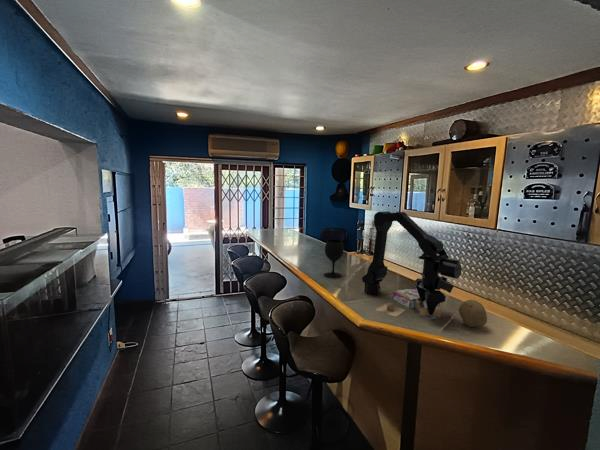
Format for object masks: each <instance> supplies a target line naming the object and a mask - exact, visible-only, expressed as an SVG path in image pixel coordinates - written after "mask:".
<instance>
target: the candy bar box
mask: <svg viewBox="0 0 600 450" xmlns="http://www.w3.org/2000/svg"><path fill="white" fill-rule="evenodd" d="M392 297H393V298H392V299H393V300H394V301H396V302H397V303H399V304H400V305H403V306H404V307H406V308H408V309H409V310H410V309H414V308H415V301H421V300H420V297H419V294H418V291H417V289H416V287H415V288H409V289H399V290H398V289H397V290H393V296H392ZM440 304H441V303H439V304H438V305H437V306H440Z"/></svg>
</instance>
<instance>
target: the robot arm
mask: <svg viewBox="0 0 600 450" xmlns="http://www.w3.org/2000/svg"><path fill="white" fill-rule="evenodd" d="M393 222H396V223H399V225H401V226H402V228H403V229H404V230H405V231H406V232H407V233H408V234H410V236H411V237H412V238H413V239H414V240H415V241H416V242H417V244H418V247H419V248H420V250H421V252H422V254H421V255H419V256H418V260H422V261H423V266H422V271H421V272H420V275H421V278H419V277H417V278H416V279H415V281H414V285H415V288H416V289H417V291H418V294H419V297H420V300H421V301H426V304H427V308H428V312H429V315H433V313H434V311H435V309H436V307H437V306H439V305H438V304H439V303H440V304H441V303H444V302H446V296H445V294H444V293H443V292H442V291H441V290H443V291H446V292H447V293H449V294H451V293H452V291H453V288H454V287H455V286H454V284H453V283H452V282H450V281H449V280H448V279H447V277H448V278H453V279H456V280H458V279H459V278H460V276H461V275H462V271H463V268H462V264H461V263H460V262H461V261H460V260H459V259H453V258H450V257H449V255H448V254H447V252H446V250H445V248H444V243H443V242H442V241H440V240H439V239H438V238H437V237H435V236H433V235H431V234H429V233H427V232H426V231H425V230H424V229H423V228H421V226H419V225H418V224H417V223H416V222H415V221H414V220H413V219H412V218H411V217H410V216H409V215H408V214H407V213H406V212H405V211H397V212H390V211H377V212H376V213H374V215H373V225H374V227H375V231H376V233H375V239H374V248H373V253H372V255H373V256H372V261H371V262H370V264H369V265H368V268H367V272H366V273H365V274H364V275H363V276H362V277H361V281H362V283H364V287H363V288H364V289H363V291H364V293H365V294H367V295H370V296H371V295H372V296H379V295H381V282H383V280H384V278H386V276H387V275H388V267H389V266H387V265H385V253H386V246H387V239H388V232H389V231H390V229H391V228H392V225H393ZM440 275H441V276H440Z"/></svg>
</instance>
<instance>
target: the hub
mask: <svg viewBox="0 0 600 450" xmlns="http://www.w3.org/2000/svg"><path fill="white" fill-rule="evenodd" d="M423 307H427V304H426V301H424V302H423ZM413 313H414V314H415V315H416V316H417V317H418V316H419V317H421V318H423V319H428V320H436V319H437V320H438V319H440V318H441V317H442V314H441V313H440V317H436V316H422V315H420V314H419V313H418V311H417V310H416V308H413Z"/></svg>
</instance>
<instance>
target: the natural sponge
mask: <svg viewBox="0 0 600 450" xmlns="http://www.w3.org/2000/svg"><path fill="white" fill-rule="evenodd" d="M458 308H459V309H458V314H459V317H461V319H462V321H463V322H464V323H465V325H467V326H468V327H470V328H476V327H481V326H485V325H486V324H487V322H488V315H487V312H486V309H485V307H484V305H483V304H482V303H481V302H479V301H477V300H475V299H468V300H465V301H463V302H462V303H461V304H460V306H459V307H458Z"/></svg>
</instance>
